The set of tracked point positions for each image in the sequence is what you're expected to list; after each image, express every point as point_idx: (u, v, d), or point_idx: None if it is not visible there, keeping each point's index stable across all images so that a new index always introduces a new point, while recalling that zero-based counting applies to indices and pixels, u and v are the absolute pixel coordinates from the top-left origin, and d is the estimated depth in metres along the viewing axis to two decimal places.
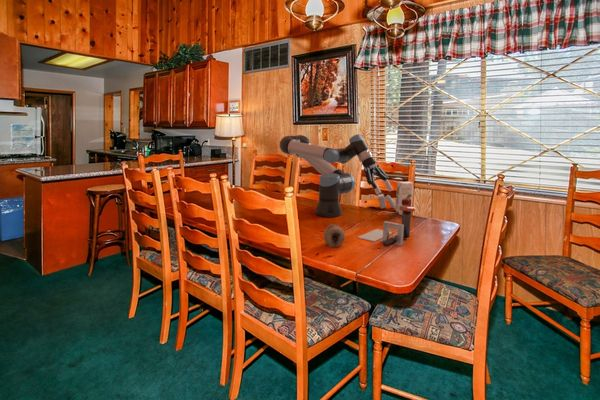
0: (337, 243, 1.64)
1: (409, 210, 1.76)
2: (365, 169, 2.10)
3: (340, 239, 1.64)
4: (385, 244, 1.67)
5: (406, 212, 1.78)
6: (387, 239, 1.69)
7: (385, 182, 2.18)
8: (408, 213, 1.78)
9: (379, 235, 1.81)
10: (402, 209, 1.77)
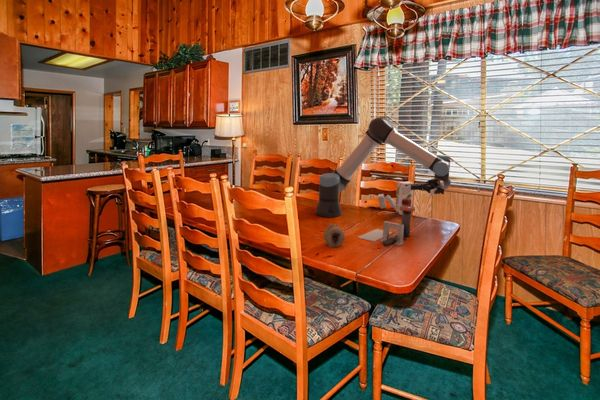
0: (337, 243, 1.64)
1: (409, 210, 1.76)
2: None
3: (340, 239, 1.64)
4: (385, 244, 1.67)
5: (406, 212, 1.78)
6: (387, 239, 1.69)
7: (409, 187, 1.94)
8: (408, 213, 1.78)
9: (379, 235, 1.81)
10: (402, 209, 1.77)
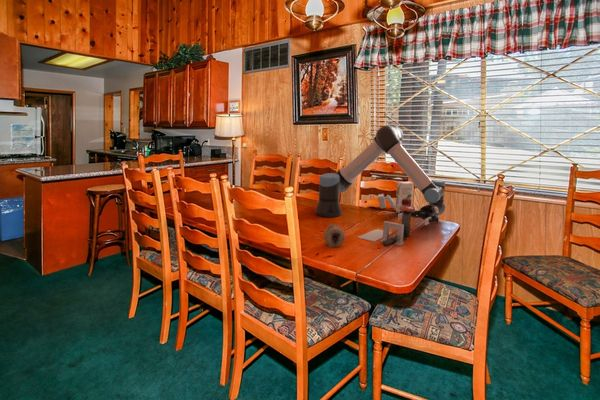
0: (337, 243, 1.64)
1: (409, 210, 1.76)
2: (437, 215, 1.91)
3: (340, 239, 1.64)
4: (385, 244, 1.67)
5: (406, 212, 1.78)
6: (387, 239, 1.69)
7: None
8: (408, 213, 1.78)
9: (379, 235, 1.81)
10: (402, 209, 1.77)
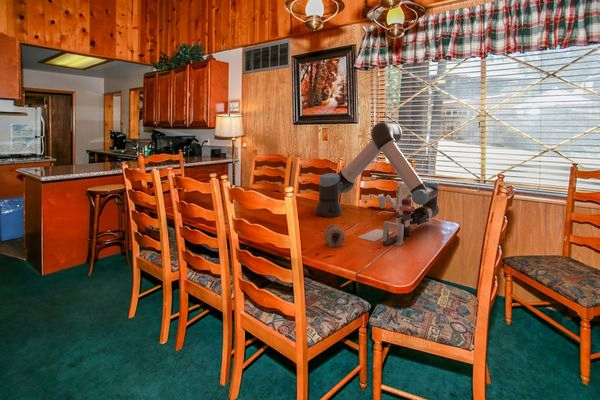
0: (337, 243, 1.64)
1: (409, 210, 1.76)
2: (427, 218, 1.84)
3: (340, 239, 1.64)
4: (385, 244, 1.67)
5: (406, 212, 1.78)
6: (387, 239, 1.69)
7: None
8: (408, 213, 1.78)
9: (379, 235, 1.81)
10: (402, 209, 1.77)
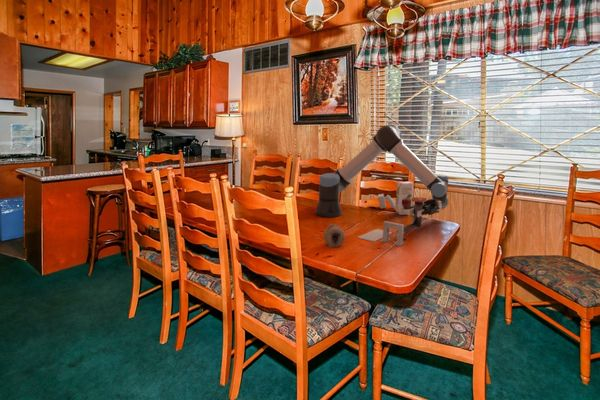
0: (337, 243, 1.64)
1: (421, 201, 1.85)
2: (438, 209, 1.93)
3: (340, 239, 1.64)
4: None
5: (418, 203, 1.87)
6: None
7: None
8: (420, 204, 1.87)
9: (379, 235, 1.81)
10: (414, 200, 1.86)
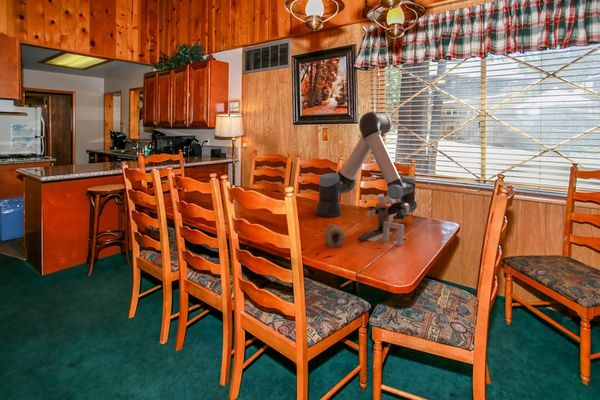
0: (337, 243, 1.64)
1: (385, 207, 1.81)
2: (406, 212, 1.89)
3: (340, 239, 1.64)
4: (360, 239, 1.72)
5: (382, 208, 1.82)
6: (362, 235, 1.74)
7: (374, 212, 1.89)
8: (384, 209, 1.82)
9: (379, 235, 1.81)
10: (378, 206, 1.82)
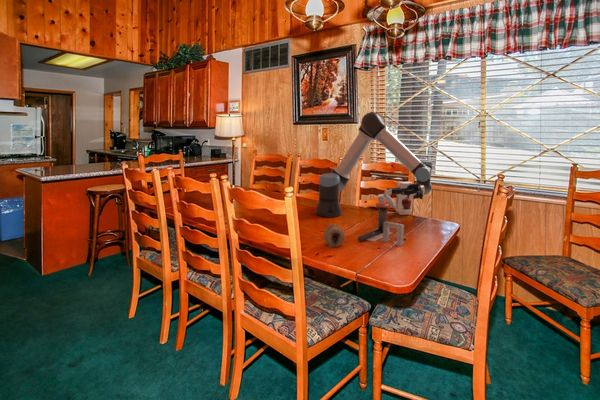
0: (337, 243, 1.64)
1: (385, 206, 1.81)
2: None
3: (340, 239, 1.64)
4: (360, 239, 1.72)
5: (382, 208, 1.82)
6: (362, 235, 1.74)
7: (390, 191, 2.00)
8: (384, 209, 1.82)
9: (379, 235, 1.81)
10: (378, 206, 1.82)
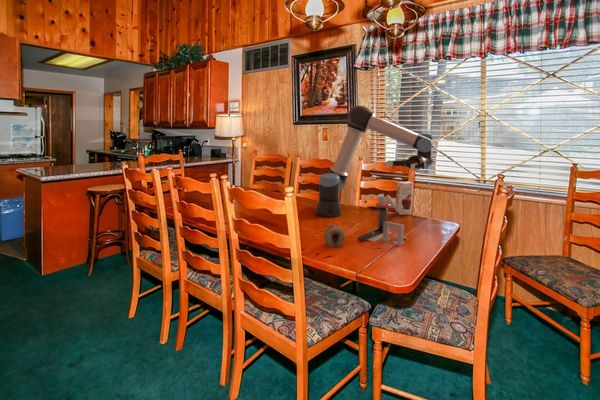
0: (337, 243, 1.64)
1: (385, 206, 1.81)
2: (424, 164, 1.97)
3: (340, 239, 1.64)
4: (360, 239, 1.72)
5: (382, 208, 1.82)
6: (362, 235, 1.74)
7: (391, 163, 1.98)
8: (384, 209, 1.82)
9: (379, 235, 1.81)
10: (378, 206, 1.82)
